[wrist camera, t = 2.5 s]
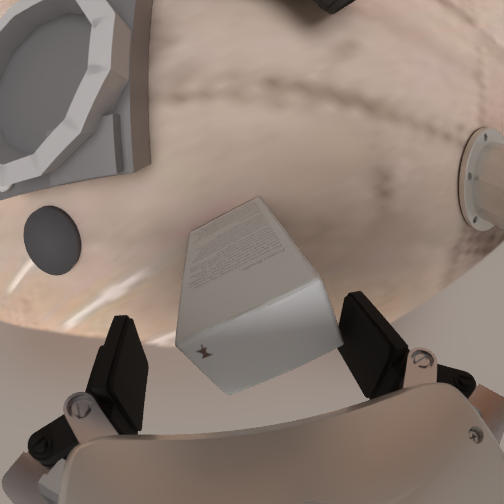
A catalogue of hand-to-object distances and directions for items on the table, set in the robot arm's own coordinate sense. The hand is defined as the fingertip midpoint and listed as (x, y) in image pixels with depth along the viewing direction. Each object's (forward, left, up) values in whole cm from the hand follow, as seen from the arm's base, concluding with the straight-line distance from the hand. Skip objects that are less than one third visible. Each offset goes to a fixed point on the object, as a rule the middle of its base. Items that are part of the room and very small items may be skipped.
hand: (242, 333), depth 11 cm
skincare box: (-1, 0, -11) cm, 11 cm away
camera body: (+11, -13, -11) cm, 20 cm away
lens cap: (+15, -1, -11) cm, 19 cm away
